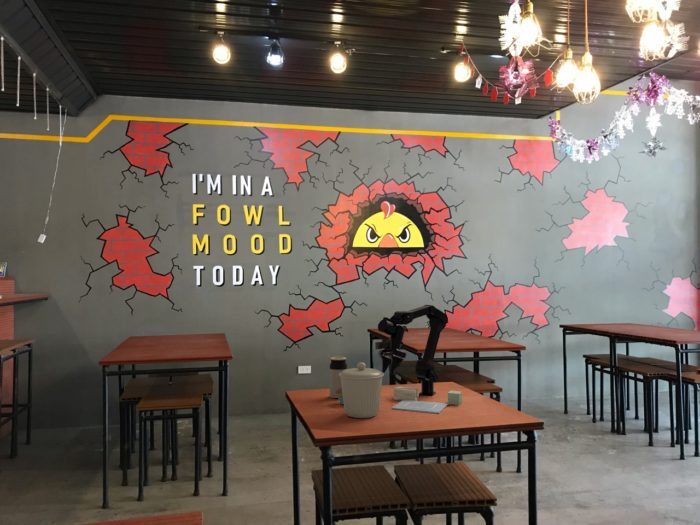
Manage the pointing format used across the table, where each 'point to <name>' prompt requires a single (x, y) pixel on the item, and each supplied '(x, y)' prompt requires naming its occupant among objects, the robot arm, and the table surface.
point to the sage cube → (455, 397)
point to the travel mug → (336, 374)
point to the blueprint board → (420, 406)
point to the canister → (361, 391)
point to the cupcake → (340, 395)
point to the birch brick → (406, 393)
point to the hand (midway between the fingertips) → (387, 372)
